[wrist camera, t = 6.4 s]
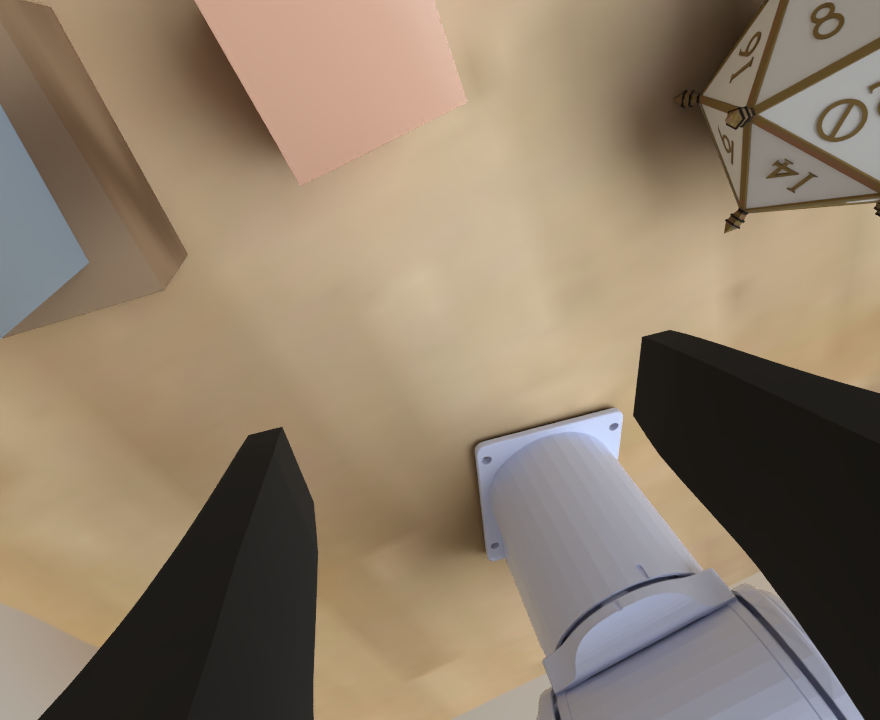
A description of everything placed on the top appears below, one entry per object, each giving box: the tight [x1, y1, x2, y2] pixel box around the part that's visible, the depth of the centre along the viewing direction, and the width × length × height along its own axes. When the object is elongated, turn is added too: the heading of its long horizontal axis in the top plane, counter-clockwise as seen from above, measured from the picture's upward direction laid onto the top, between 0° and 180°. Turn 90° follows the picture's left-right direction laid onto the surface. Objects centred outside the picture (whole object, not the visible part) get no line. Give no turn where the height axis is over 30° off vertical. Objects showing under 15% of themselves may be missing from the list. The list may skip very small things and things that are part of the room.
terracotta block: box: [194, 0, 467, 186], centre depth 12 cm, size 4×4×5 cm
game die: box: [673, 0, 880, 233], centre depth 14 cm, size 9×8×10 cm
